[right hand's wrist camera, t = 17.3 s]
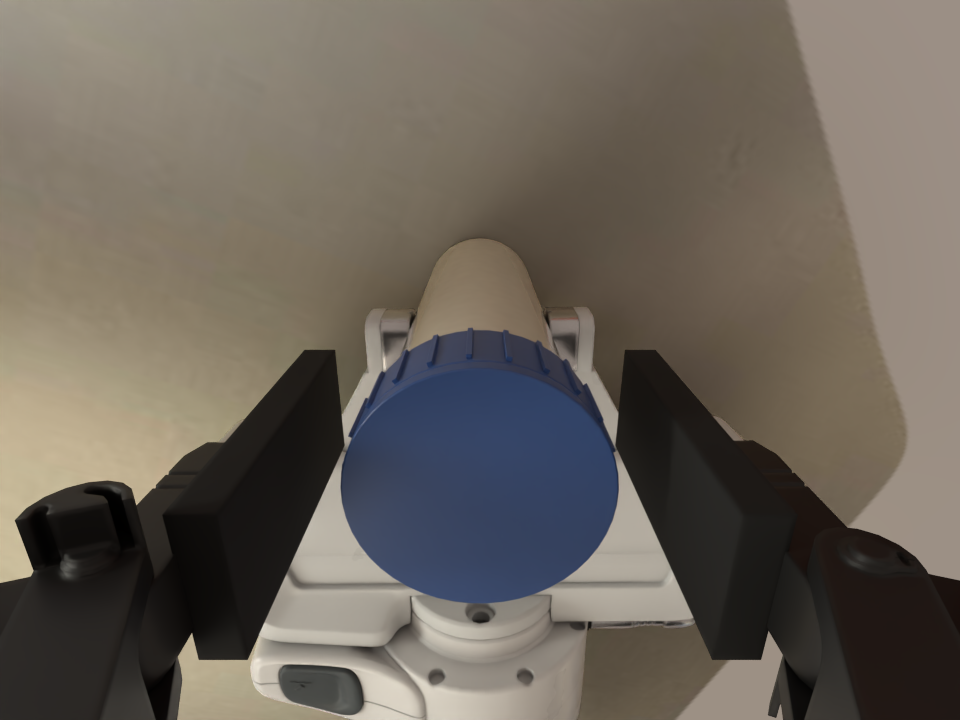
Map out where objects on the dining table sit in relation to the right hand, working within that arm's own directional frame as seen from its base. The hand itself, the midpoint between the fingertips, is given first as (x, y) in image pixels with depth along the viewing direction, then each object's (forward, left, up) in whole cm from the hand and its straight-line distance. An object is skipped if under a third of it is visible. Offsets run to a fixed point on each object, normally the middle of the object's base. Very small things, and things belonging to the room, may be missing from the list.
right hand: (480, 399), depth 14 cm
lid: (0, 0, +4) cm, 4 cm away
